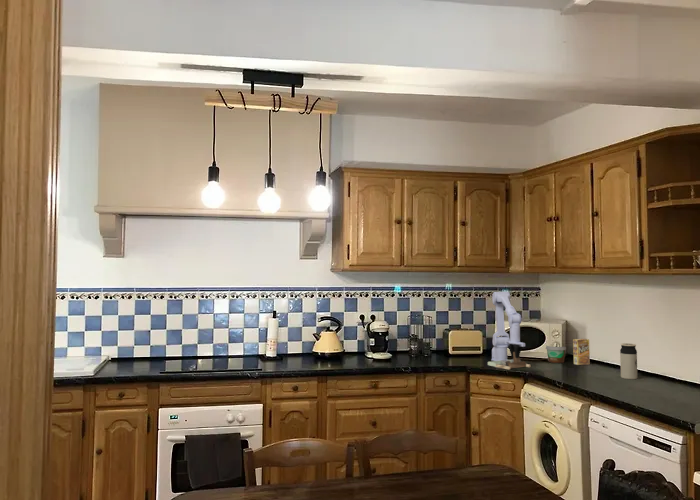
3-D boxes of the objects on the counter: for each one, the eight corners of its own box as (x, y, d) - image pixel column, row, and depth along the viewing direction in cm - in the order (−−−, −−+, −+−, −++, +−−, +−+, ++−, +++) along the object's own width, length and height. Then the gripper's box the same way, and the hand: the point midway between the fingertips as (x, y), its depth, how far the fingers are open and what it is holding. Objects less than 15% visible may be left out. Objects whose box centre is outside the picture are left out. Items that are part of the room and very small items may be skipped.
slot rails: (495, 366, 336) (495, 364, 336) (517, 364, 344) (516, 361, 344) (509, 369, 326) (509, 367, 326) (530, 367, 334) (530, 364, 334)
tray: (487, 365, 342) (487, 361, 342) (508, 362, 350) (508, 359, 350) (495, 366, 336) (495, 363, 336) (517, 364, 344) (516, 361, 344)
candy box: (578, 365, 340) (577, 339, 340) (573, 364, 344) (572, 339, 344) (590, 364, 342) (589, 339, 343) (585, 363, 346) (584, 338, 347)
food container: (544, 362, 351) (544, 346, 351) (546, 360, 356) (545, 345, 357) (565, 363, 345) (565, 347, 346) (566, 362, 351) (566, 346, 351)
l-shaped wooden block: (507, 368, 332) (507, 352, 332) (522, 366, 337) (522, 351, 338) (510, 368, 329) (510, 352, 330) (526, 366, 335) (525, 351, 336)
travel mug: (617, 377, 300) (617, 344, 301) (625, 376, 305) (624, 342, 306) (632, 380, 294) (632, 345, 294) (640, 378, 299) (639, 344, 299)
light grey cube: (500, 366, 336) (500, 360, 336) (505, 366, 338) (505, 359, 338) (505, 367, 333) (505, 361, 333) (510, 367, 335) (510, 360, 335)
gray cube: (511, 366, 338) (511, 359, 339) (516, 365, 340) (516, 358, 340) (516, 367, 335) (515, 360, 335) (521, 366, 337) (520, 359, 337)
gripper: (501, 333, 338) (501, 356, 338) (518, 336, 326) (519, 359, 325) (510, 333, 342) (510, 355, 341) (527, 335, 329) (528, 358, 328)
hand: (515, 357), depth 333 cm, fingers closed on l-shaped wooden block, 3 cm apart
